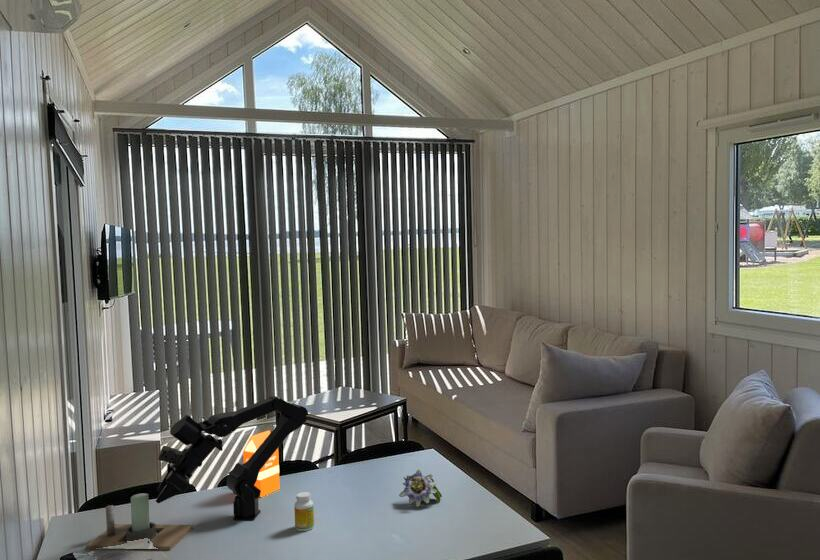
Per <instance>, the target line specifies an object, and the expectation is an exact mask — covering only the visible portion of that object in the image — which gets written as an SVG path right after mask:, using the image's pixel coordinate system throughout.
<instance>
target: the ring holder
mask: <svg viewBox="0 0 820 560" xmlns="http://www.w3.org/2000/svg"><path fill="white" fill-rule="evenodd" d="M114 508H115V507H114V505H113V504H111V505H107V506H105V516H106V517H105V519H106V530H105V531H103V532H102V533H101V534H100V535H98V536H97V537H95V538H94V539H93V540H92V541H90V542H89V543H87V544H86V546H85V549H86V550H97V549H96V548H103V547H108V546H116V545H121V544H124V543H127V541H134V540H139V539H144V538H148V539H150V541H151V542H152V543H153V546H154V547H156V548H158V549H160V550H159V551H172V549H173V548H174V547H175V546H176V545H177V544H178V543H180V542H181V540H183V539H184V537H186V536H187V535H188V534H189V533H190V532H191V531H192V530H193V529H194V525H193V524H156V523H155V522H152V521H150V530H147V531H145V532H139V533H132V523H131V524H130V523H129V524H128V523H127V524H126V523H119V524H117V523H115V510H114ZM157 532H158V533H157ZM125 540H126V541H125Z"/></svg>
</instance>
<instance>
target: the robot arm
mask: <svg viewBox="0 0 820 560" xmlns="http://www.w3.org/2000/svg"><path fill="white" fill-rule="evenodd" d="M273 412H277V413H278V414H280V415H279V416H278V417H279V418H278V421H277V424H276V426H275V427H274V428H273V429H272V430H271V431H270V434H269V436H268V437H267V438H266V439H265V440H264V442H263V443H262V444H261V445H260V447H259V448H258V449H257V450H256V451H255V453H254V454H253V455H252V456H251V458H250V459H249V460H248V461H247V462H246V463H244V462H243V463H242V464H241V463H240V462H237V463H236V464H234V467H233V468H232V470H231V471H230V470H229V472H228V476H227V478H226V486H227V488H228V489H229V490H231V491H232V493H233V494H234V495H235V496H234V501H233V503H232V504H233V517H232V518H233V520H234V521H238V520H239V521H240V520H241V521H243V520H244V521H248V520H249V521H254V520H255V519H256V518H257V517H258V515H260V513H261V511H262V510H261V509H259V499H260V498H259V497H260V493H261V490H260V489H258V488H257V487H256V486H254V485H255V483H256V481H257V478H258V474H259V471H260V470H261V468H262V467H263V466H264V465H265V463H266V462H267V461H268V460H269V458H270V457H271V456H272V455H273V453H274V452H275V451H276V450H277V448H278V449H279V447H280V446H281V444H283V443H284V441H285V439H287V437H288V436H289V435H290V434H292V433H293V432H294V431H296V430H298V429H299V428H301V427H302V426H303V425H304V424H305V423H306V422H307V420H308V419H309V411H308V409H307V408H306V407H304V406H302V405H299V404H297V403H290V402H287V401H285V400H284V399H283V398H282V397H279V396H275V395H271V396H269V397H268V398H264V399H262V400H260V401H257V402H254V403H252V404H250V405H248V406H245V407H243V408H240V409H237V410H234V411H227V412H220V413H216V414H212V415H210V417H208V419H206V420H203V421H201V422H196V421H195V420H194V419H193V418H192V417H191V416H190V415H188V414H185V415H184V417H183V418H180V419H179V420H178V421H176V422H175V423H174V424H173V425H172V427H171V428H170V433H169V434H170V435H171V436H172V437H174V438H175V439H176V440H178V442H180V443H182V444H184V446H189V447H186V448H184V449H183V450H180V449H176V448H174V447H171V446H167V445H162V447H161V449H160V452H159V453H158V458H157V460H158V461H160V462H166V463H167V464H166V469H167V472H166V474H165V475H164V477H163V479H162V480H161V482H160V484H159V485H158V487H157V489H156V492H159V494H158V496H157V498H156V499H155V503H157V504H160V503H162V502H164V501H166V500H170V499H171V498H173V497H175V496H177V495H179V494H183V493H186V492H187V491H188V490H189V488H190V479H191V478H192V477H193V473H194V472H195V471H196V469H198V468H201V467H202V465H203V462H204V461H205V460H206V458H208V456H209V455H210V454H211V453H212V452H213V451H214V450H215V449H217V450H218V451H220V452H222V451H223V449H224V448H223V443H224V442H223V440H222V438H225V437H227V436H229V435H231V434H232V433H233V432H235V431H236V430H237V429H239V427H241V426H242V425H244V424H247V423H248V422H251V421H253V420H255V419H259V418H260V417H263V416H265V415H268V414H270V413H273ZM203 432H204V433H203ZM213 435H214V436H216V437H219V439H218V438H215V437H214V436H213Z"/></svg>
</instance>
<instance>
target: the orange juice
mask: <svg viewBox="0 0 820 560" xmlns="http://www.w3.org/2000/svg"><path fill="white" fill-rule="evenodd" d="M270 433H271V430H270V429H269V430H266V431H265V430H264V431H262V432H259V433H256V434H254V435H251V436H250V437H249V439H248V441H247V443H246V445H245V447H244V449H243V451H242V452H243V453H242V454H243V456H242V457H243V464H244V463H246V462H247V461H248V460H249V459H250V458H251V456H252V455H253V454H254V453H255V451H256V450H257V449H258V448H259V447H260V445H261V444H262V443H263V442H264V440H265V439H266V438H267V437H268V436H269V434H270ZM279 457H280V456H279V447H278V448H277V450H276V451H275V452H274V453H273V455H272V456H271V457H270V458H269V460H268V461H267V462H266V463H265V465H264V466H263V467H262V468H261V470H260V471H259V474H258V478H257V481H256V483H255V485H254V486H256V487H257V488H258V489H260V490H261V493H260V497H263V496H265V495H267V496H269V495H268V494H270V493H272V492H274V491H276V490H278V489H280V490H281V488H280V487H281V485H280V481H281V480H280V463H279V462H280V461H279V460H280V459H279ZM278 491H279V490H278ZM276 492H277V491H276ZM274 493H275V492H274ZM272 494H273V493H272ZM270 495H271V494H270ZM265 497H266V496H265ZM263 498H264V497H263Z"/></svg>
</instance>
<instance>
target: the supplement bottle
mask: <svg viewBox="0 0 820 560" xmlns="http://www.w3.org/2000/svg"><path fill="white" fill-rule="evenodd" d="M295 496H296V498H295V499H296V502H294V505H293V506H294V508H293V509H294V527H295V530H296V531H298V532H307V531H311V530H313V528H314V527H315V519H314V518H315V517H314V516H315V515H314V514H315V511H314V510H315V509H314V502H313V500H312V499H311V493H310V492H307V491H303V492H299V493H296V495H295Z"/></svg>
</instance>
